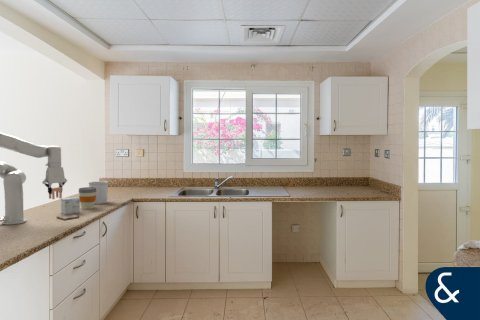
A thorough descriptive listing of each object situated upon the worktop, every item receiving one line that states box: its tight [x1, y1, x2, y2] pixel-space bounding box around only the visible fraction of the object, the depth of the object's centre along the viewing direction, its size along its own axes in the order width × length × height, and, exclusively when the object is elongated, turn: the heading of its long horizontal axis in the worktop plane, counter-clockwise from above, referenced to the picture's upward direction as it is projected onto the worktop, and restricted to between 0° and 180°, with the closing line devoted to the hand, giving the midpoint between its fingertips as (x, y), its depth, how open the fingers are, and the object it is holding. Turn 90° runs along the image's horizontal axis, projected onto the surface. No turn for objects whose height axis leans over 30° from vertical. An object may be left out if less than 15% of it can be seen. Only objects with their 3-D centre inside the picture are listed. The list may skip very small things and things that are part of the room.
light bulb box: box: [60, 196, 81, 215], centre depth 236 cm, size 11×7×11 cm, turn 141°
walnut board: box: [56, 213, 80, 221], centre depth 221 cm, size 10×10×1 cm
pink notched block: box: [48, 186, 63, 200], centre depth 213 cm, size 6×6×7 cm
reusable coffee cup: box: [78, 186, 96, 210], centre depth 256 cm, size 12×13×15 cm
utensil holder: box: [88, 180, 109, 205], centre depth 277 cm, size 15×15×18 cm
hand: (55, 192), depth 213 cm, fingers closed on pink notched block, 5 cm apart
